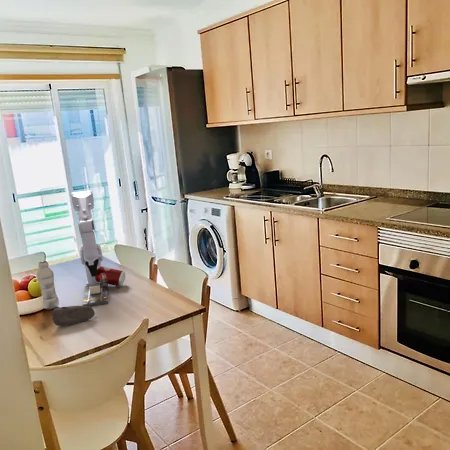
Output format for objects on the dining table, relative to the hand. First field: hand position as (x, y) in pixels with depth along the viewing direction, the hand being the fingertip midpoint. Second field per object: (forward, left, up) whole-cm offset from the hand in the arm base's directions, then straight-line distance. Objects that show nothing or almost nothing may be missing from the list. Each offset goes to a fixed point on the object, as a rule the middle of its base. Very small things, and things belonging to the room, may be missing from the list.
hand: (94, 276), depth 196 cm
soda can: (-1, +12, -4) cm, 13 cm away
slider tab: (+6, 0, -5) cm, 8 cm away
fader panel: (+6, 0, -7) cm, 9 cm away
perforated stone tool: (+31, -7, -8) cm, 33 cm away
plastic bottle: (+11, -18, -8) cm, 23 cm away
